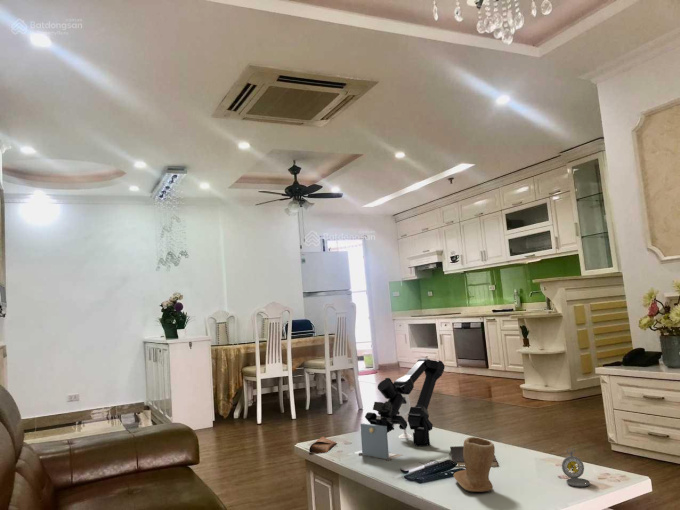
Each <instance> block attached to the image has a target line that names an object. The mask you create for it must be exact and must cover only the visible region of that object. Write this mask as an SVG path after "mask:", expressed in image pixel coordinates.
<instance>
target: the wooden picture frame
mask: <svg viewBox="0 0 680 510" xmlns="http://www.w3.org/2000/svg"><path fill="white" fill-rule="evenodd" d="M388 453H389V458H387V459H383V458H378V457H373V456H367V455H362V452H359V453H358V456H360V457H361V456H364V457H368V458H374V459H379V460H384V461H386V462H391V461H392V459H396V458H399V457H401V456H403V454H398V453H392V452H388Z"/></svg>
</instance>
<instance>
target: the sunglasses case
mask: <svg viewBox="0 0 680 510" xmlns="http://www.w3.org/2000/svg"><path fill="white" fill-rule="evenodd" d="M337 444H338V443H337V442H336V441H333V440H331V439H328V438H326V437H324V436H322V435H321V437H320V438H319V439H317V440H316V441H314V442H313V443H312V444H311V445H310V447H309V450H308V451H309V453H310V454H326V453H325V452H328V451H330V450H332V449H333V448H334V445H335V446H336V445H337ZM328 453H329V452H328Z"/></svg>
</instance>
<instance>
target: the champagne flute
mask: <svg viewBox="0 0 680 510" xmlns="http://www.w3.org/2000/svg"><path fill="white" fill-rule="evenodd" d="M401 395H402V396H403V397H405V399H406V402H407V403H406V404H402V405H401V407H400V409H399V412H400V414H399V415H400V416H402V417H403V418H404V419H405V421H406V416H407V415H408V414H409V411H410V408H411V407H412V406H411V402H410V396H409V395H410V394H408V395H406V394H401ZM406 422H407V421H406ZM398 438H399V439H411V438H412V439H413V435H411V434H409V433H408V432H407V429H406V430H403V433H402V434H400V435H399V436H398Z"/></svg>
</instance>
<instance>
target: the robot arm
mask: <svg viewBox="0 0 680 510" xmlns="http://www.w3.org/2000/svg"><path fill="white" fill-rule="evenodd" d="M444 371H445V364H444V362H443V361H442V360H432V359H430V358H423V357H422V358H418V359H417V362H416V363H415V364H414V365H413V366H412V367H411V368H410V370H408V371H407V373H406V374H405V375H403V376H401V377H399V378H397V379H396V380H395V381H394V382H393V381H392V378H391V377H385V379H383V380H381V381H380V382H379V383H378V385H377V389H378V391H379V392H380V393H381V395H382V396H383V397H384V398H385V400H387V401H384V402H381V401H374V402H373V406H372V410H373V411H375V412H377V414H378V415H377V414H376V413H375V412H367V413H366V414H365V416H364V418H365V419H366V421H367V422H368V424H373V425H380V426H387V434H388V433H390V432H391V431H394V430H395V426H396V425H399V426H398V427H399V429H400V430H403V431H404V430H406V431H407V427H408V426H409V429H410V430H413V431H414V432H412V436H413V437H412V440H413V441H412V442H413V444H414V446H416V447H418V446H419V447H423V446H431V441H430V431H432V430H433V426H434V425H433V423H432V422H431V420H429V417H430V415H429V410H428V409H429V405H430V402H431V398H432V396H433V394H434V393H433V392H434V389H435V385H436V382H437V380H439V379H440V377H442V375H443V373H444ZM423 373H424V375H425V378H424V381H423V384H422V387H421V390H420V394H419V397H418V400H417V403H416V404H415V406H410V407H411V408H410V411H409V412H408V413H407V421H405V420H406V418H405V419H404V418H403V415H401V414H400V412H399V409H400V407H401V405H402V404H406V403H407V402H406V399H405V397H403V396H402V395H401V394H406V395H410V394H411V393H412V391H413V389H414V388H415V385H414V384H415V382H416V381H417V380H418V379H419V378H420V377H421V375H422V374H423Z"/></svg>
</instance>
